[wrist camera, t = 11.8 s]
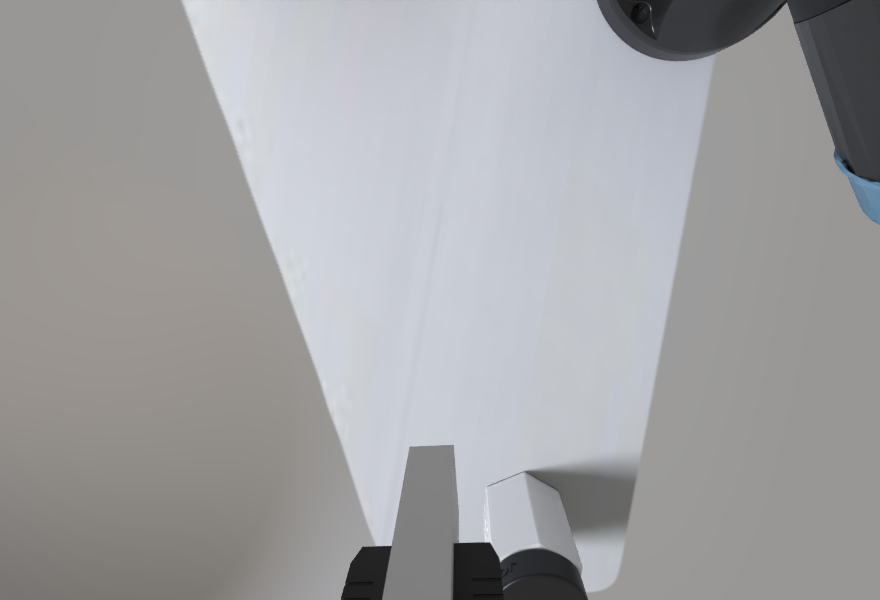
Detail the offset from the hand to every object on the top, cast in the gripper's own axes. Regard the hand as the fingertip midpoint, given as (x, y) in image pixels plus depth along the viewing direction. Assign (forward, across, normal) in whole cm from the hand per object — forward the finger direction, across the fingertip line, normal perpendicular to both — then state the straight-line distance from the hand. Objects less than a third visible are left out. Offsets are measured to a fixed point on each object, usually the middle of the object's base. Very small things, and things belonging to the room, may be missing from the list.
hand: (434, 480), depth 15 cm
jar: (+27, +6, -25) cm, 37 cm away
